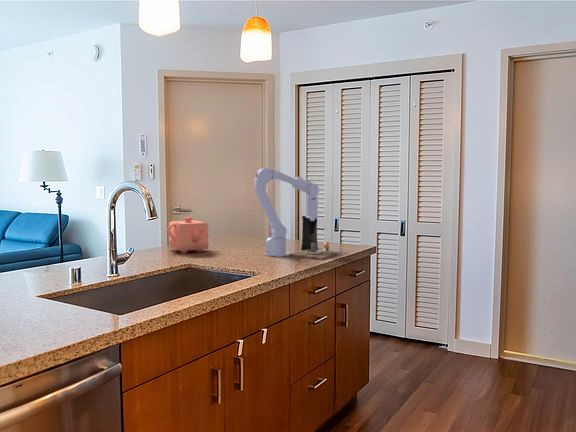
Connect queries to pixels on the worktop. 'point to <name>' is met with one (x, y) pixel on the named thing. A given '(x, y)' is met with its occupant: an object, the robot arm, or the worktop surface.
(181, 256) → the worktop surface
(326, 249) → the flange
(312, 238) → the container
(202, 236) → the teapot
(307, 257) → the jig base
